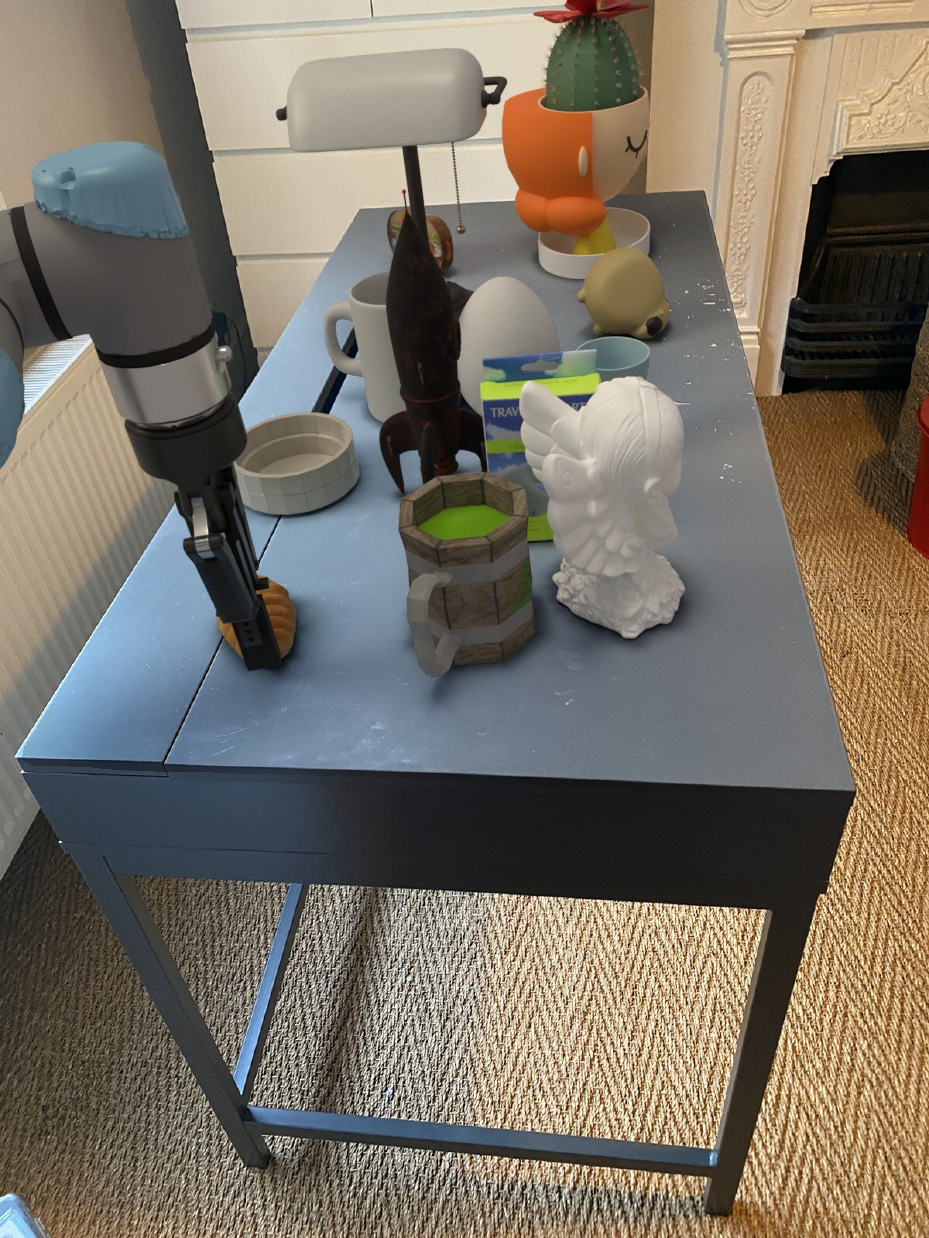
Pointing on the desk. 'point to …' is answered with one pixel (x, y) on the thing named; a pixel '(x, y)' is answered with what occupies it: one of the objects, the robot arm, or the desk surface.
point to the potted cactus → (580, 140)
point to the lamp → (392, 112)
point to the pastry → (271, 618)
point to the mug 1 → (368, 344)
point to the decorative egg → (502, 331)
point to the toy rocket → (425, 365)
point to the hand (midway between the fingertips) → (264, 662)
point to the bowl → (297, 463)
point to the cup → (619, 357)
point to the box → (505, 420)
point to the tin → (436, 233)
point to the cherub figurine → (609, 498)
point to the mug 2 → (467, 570)
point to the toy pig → (625, 294)
